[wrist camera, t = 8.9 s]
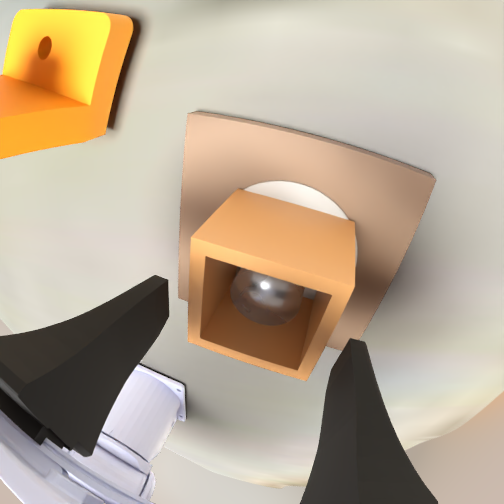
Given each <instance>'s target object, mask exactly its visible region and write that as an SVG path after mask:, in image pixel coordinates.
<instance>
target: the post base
mask: <svg viewBox="0 0 504 504" xmlns="http://www.w3.org/2000/svg"><path fill="white" fill-rule="evenodd" d="M435 182H436V179H435V178H434V177H433V176H432V174H430V173H428V172H425V171H423V170H420V169H418V168H415V167H413V166H410V165H407V164H405V163H402V162H399V161H397V160H394V159H391V158H388V157H385V156H382V155H379V154H376V153H373V152H370V151H367V150H364V149H361V148H358V147H355V146H351V145H348V144H345V143H341V142H338V141H335V140H331V139H328V138H324V137H320V136H317V135H313V134H309V133H305V132H301V131H297V130H293V129H289V128H284V127H280V126H276V125H271V124H266V123H262V122H257V121H252V120H247V119H241V118H236V117H230V116H225V115H219V114H212V113H206V112H199V111H196V112H192V113H188V115H187V125H186V136H185V147H184V159H183V173H182V189H181V207H180V231H179V279H178V298H180V299H182V300H185V301H188V298H189V268H190V247H191V236H192V235H193V234H194V233H195V232H196V231H197V230H198V229H199V228H200V227H201V226H202V225H203V224H204V223H205V222H206V221H207V220H208V218H209V217H210V216H211V215H212V214H213V213H214V212H215V211H216V210H217V209H218V208H219V207H220V206H221V205H222V204H223V203H224V202H225V201H226V200H227V199H228V198H229V197H230V196H231V195H232V194H233V193H234V192H235V191H236V190H237V189H241V190H245V191H249V192H253V193H257V194H260V195H264V196H268V197H272V198H275V199H279V200H282V201H286V202H290V203H293V204H297V205H300V206H304V207H307V208H311V209H314V210H317V211H321V212H324V213H327V214H331V215H334V216H337V217H341V218H344V219H347V220H350V221H353V222H355V287H354V290H353V292H352V294H351V296H350V298H349V300H348V302H347V304H346V307H345V309H344V311H343V313H342V315H341V317H340V319H339V321H338V323H337V325H336V327H335V329H334V331H333V333H332V335H331V337H330V339H329V341H328V343H327V344H326V346H327V347H331V348H334V349H338V350H342V351H343V349H344V347H345V346H346V344H347V342H348V340H349V339H350V338H352V339H356V340H359V339H360V338H361V336H362V334H363V333H364V331H365V329H366V327H367V326H368V324H369V322H370V320H371V319H372V317H373V315H374V313H375V312H376V310H377V308H378V306H379V304H380V303H381V301H382V299H383V297H384V295H385V293H386V291H387V289H388V288H389V286H390V284H391V282H392V280H393V278H394V276H395V274H396V272H397V270H398V268H399V266H400V264H401V262H402V260H403V257H404V255H405V253H406V251H407V249H408V247H409V245H410V242H411V240H412V238H413V236H414V234H415V231H416V229H417V227H418V224H419V222H420V220H421V217H422V215H423V213H424V210H425V208H426V205H427V203H428V200H429V198H430V195H431V192H432V190H433V187H434V184H435ZM240 268H241V267H239V266H237V270H236V275H237V274H238V272H239V270H240ZM316 292H317V290H314V289H311V288H307V287H305V289H304V293H303V297H306V298H309V299H312V300H314V298H315V295H316Z"/></svg>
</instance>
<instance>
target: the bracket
mask: <svg viewBox="0 0 504 504" xmlns="http://www.w3.org/2000/svg"><path fill="white" fill-rule="evenodd" d="M132 33H133V23H132V20H131V19H130V18H129V17H128V16H125V15H119V14H112V13H104V12H95V11H83V10H67V9H26V10H20V11H19V12H18V13H17V14H16V16H15V18H14V20H13V24H12V28H11V32H10V36H9V41H8V46H7V51H6V56H5V62H4V68H3V75H0V159H3V158H7V157H11V156H15V155H20V154H24V153H28V152H33V151H38V150H43V149H48V148H53V147H58V146H64V145H70V144H76V143H82V142H86V141H88V140H91V139H94V138H96V137H99V136H102V135H105V133H106V128H107V123H108V118H109V114H110V109H111V105H112V101H113V97H114V93H115V89H116V85H117V82H118V78H119V74H120V71H121V67H122V64H123V61H124V57H125V54H126V51H127V48H128V45H129V42H130V39H131V36H132Z"/></svg>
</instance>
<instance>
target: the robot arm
mask: <svg viewBox="0 0 504 504" xmlns="http://www.w3.org/2000/svg"><path fill="white" fill-rule="evenodd" d="M168 317H169V295H168V280H167V279H164V278H162V277H159V276H156V275H154V276H152V277H150V278H149V279H147V280H145V281H143V282H142V283H140V284H138V285H136V286H135V287H133V288H131V289H129V290H128V291H126V292H124V293H122V294H121V295H119V296H117V297H115V298H113V299H112V300H110V301H108V302H106V303H104V304H102V305H100V306H98V307H96V308H94V309H92V310H90V311H88V312H86V313H84V314H81V315H79V316H77V317H74V318H72V319H69V320H67V321H64V322H61V323H58V324H55V325H51V326H48V327H45V328H42V329H38V330H34V331H29V332H25V333H20V334H13V335H7V336H0V479H1V480H2V481H3V482H4V483H5V484H6V485H7V487H8V488H9V489H10V490H11V491H12V492H13V493H14V494H15V495H16V496H17V497H18V498H19V499H20V501H22V503H24V504H104V503H106V504H154V503H152V502H150V501H149V500H150V498H151V496H152V494H153V492H154V489H155V485H156V479H155V476H154V473H153V472H152V471H150V470H151V468H152V465H151V464H149V463H150V461H151V460H152V459H154V458H155V457H156V456H157V455H158V454H159V452H160V451H161V449H162V447H163V445H164V443H165V441H166V439H167V438H168V436H169V434H170V432H171V430H172V428H173V426H174V424H175V422H176V420H177V419H178V420H181V421H185V420H186V410H185V388H184V385H183V384H181V383H179V382H176V381H174V380H172V379H169V378H167V377H165V376H163V375H160V374H158V373H156V372H154V371H152V370H149V369H147V368H145V367H143V366H141V365H139V362H140V361H141V360H142V358H143V357H144V355H145V354H146V353H147V351H148V350H149V349H150V347H151V346H152V344H153V343H154V342H155V340H156V339H157V337H158V336H159V334H160V332H161V330H162V329H163V327H164V325H165V323H166V321H167V319H168ZM300 504H438V501H437V500H436V499H435V497H434V496H433V495H432V493H431V492H430V491H429V489H428V488H427V487H426V485H425V484H424V483H423V481H422V480H421V478H420V477H419V475H418V473H417V472H416V470H415V469H414V467H413V465H412V463H411V462H410V460H409V458H408V456H407V455H406V453H405V451H404V449H403V447H402V445H401V443H400V441H399V439H398V437H397V435H396V432H395V430H394V428H393V426H392V423H391V421H390V418H389V416H388V413H387V410H386V408H385V405H384V402H383V399H382V396H381V393H380V390H379V387H378V384H377V381H376V378H375V374H374V371H373V367H372V364H371V360H370V357H369V353H368V349H367V346H366V343H365V342H364V341H360V340H356V339H352V338H350V339H349V340H348V342H347V344H346V346H345V347H344V349H343V351H342V352H341V354H340V356H339V357H338V359H337V361H336V362H335V364H334V366H333V367H332V369H331V373H330V377H329V381H328V385H327V390H326V395H325V403H324V411H323V418H322V425H321V433H320V439H319V445H318V450H317V454H316V457H315V461H314V464H313V467H312V471H311V474H310V477H309V480H308V483H307V486H306V489H305V492H304V494H303V497H302V500H301V502H300Z"/></svg>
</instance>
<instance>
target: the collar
mask: <svg viewBox="0 0 504 504" xmlns="http://www.w3.org/2000/svg"><path fill="white" fill-rule="evenodd" d="M237 266H239V267H242V268H245V269H249V270H252V271H255V272H258V273H261V274H265V275H268V276H271V277H274V278H278V279H281V280H284V281H287V282H291V283H294V284H297V285H301V286H304V287H307V288H311V289H314V290H317V292H316V295H315V298H314V300H312V299H309V298H306V297H302V301H301V305H300V309H299V311H298V313H297V315H296V316H295V317H294V318H293V319H292V320H291V321H289V322H287V323H285V324H281V325H275V326H270V325H262V324H259V323H256V322H254V321H251V320H250V319H248V318H246V317H245V316H244V315H242V314H241V313H240V312H239V311H238V310H237V308H236V307H235V305H234V304H233V302H232V299H231V295H230V288H231V285H232V282H233V280H234V279H235V277H236V270H237ZM354 287H355V222H353V221H350V220H347V219H344V218H341V217H337V216H334V215H331V214H327V213H324V212H321V211H317V210H314V209H311V208H307V207H304V206H300V205H297V204H293V203H290V202H286V201H282V200H279V199H275V198H272V197H268V196H264V195H260V194H257V193H253V192H249V191H245V190H241V189H237V190H236V191H235V192H234V193H233V194H232V195H231V196H230V197H229V198H228V199H227V200H226V201H225V202H224V203H223V204H222V205H221V206H220V207H219V208H218V209H217V210H216V211H215V212H214V213H213V214H212V215H211V216H210V217H209V218H208V220H207V221H206V222H205V223H204V224H203V225H202V226H201V227H200V228H199V229H198V230H197V231H196V232H195V233H194V234H193V235H192V236H191V247H190V268H189V298H188V342H191V343H193V344H196V345H198V346H201V347H204V348H206V349H209V350H212V351H214V352H217V353H220V354H223V355H226V356H228V357H231V358H234V359H237V360H240V361H243V362H246V363H249V364H252V365H255V366H258V367H261V368H264V369H268V370H271V371H274V372H277V373H281V374H284V375H287V376H291V377H294V378H298V379H301V380H305V381H307V379H308V378H309V376H310V374H311V372H312V370H313V369H314V367H315V365H316V363H317V361H318V359H319V358H320V356H321V354H322V352H323V350H324V348H325V346H326V344H327V343H328V341H329V339H330V337H331V335H332V333H333V331H334V329H335V327H336V325H337V323H338V321H339V319H340V317H341V315H342V313H343V311H344V309H345V307H346V304H347V302H348V300H349V298H350V296H351V294H352V292H353V290H354Z"/></svg>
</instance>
